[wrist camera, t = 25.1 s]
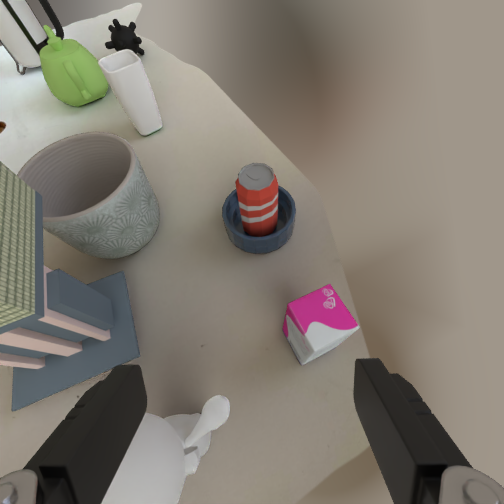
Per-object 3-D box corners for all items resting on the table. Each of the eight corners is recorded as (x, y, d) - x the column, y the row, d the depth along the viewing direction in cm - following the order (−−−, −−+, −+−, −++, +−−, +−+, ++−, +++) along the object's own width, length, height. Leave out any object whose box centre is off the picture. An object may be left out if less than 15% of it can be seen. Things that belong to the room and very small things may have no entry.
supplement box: (337, 347, 37) (362, 328, 27) (300, 366, 36) (312, 355, 26) (315, 310, 39) (330, 281, 29) (281, 328, 39) (284, 304, 29)
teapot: (52, 85, 77) (14, 31, 66) (101, 68, 80) (72, 13, 69) (68, 122, 67) (27, 66, 56) (123, 101, 71) (94, 44, 59)
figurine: (233, 383, 35) (194, 370, 18) (257, 454, 31) (237, 526, 14) (119, 435, 33) (-48, 479, 16) (130, 518, 29) (-77, 697, 12)
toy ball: (152, 35, 82) (146, 40, 74) (139, 67, 87) (132, 75, 79) (118, 6, 77) (107, 8, 68) (105, 42, 82) (94, 49, 74)
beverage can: (258, 205, 49) (255, 154, 39) (284, 224, 47) (287, 174, 36) (235, 224, 47) (225, 176, 37) (260, 245, 45) (256, 199, 34)
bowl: (299, 206, 49) (301, 187, 45) (285, 261, 44) (286, 247, 39) (238, 195, 52) (235, 176, 47) (217, 247, 46) (212, 231, 42)
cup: (142, 142, 62) (107, 74, 49) (130, 127, 65) (95, 60, 52) (169, 129, 63) (143, 60, 50) (156, 115, 66) (128, 47, 53)
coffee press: (29, 83, 79) (-92, -73, 52) (12, 66, 85) (-104, -81, 59) (81, 60, 84) (-5, -93, 57) (61, 45, 90) (-25, -99, 64)
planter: (105, 291, 43) (31, 246, 30) (69, 229, 50) (-4, 170, 37) (189, 234, 48) (157, 172, 35) (145, 184, 55) (104, 116, 41)
